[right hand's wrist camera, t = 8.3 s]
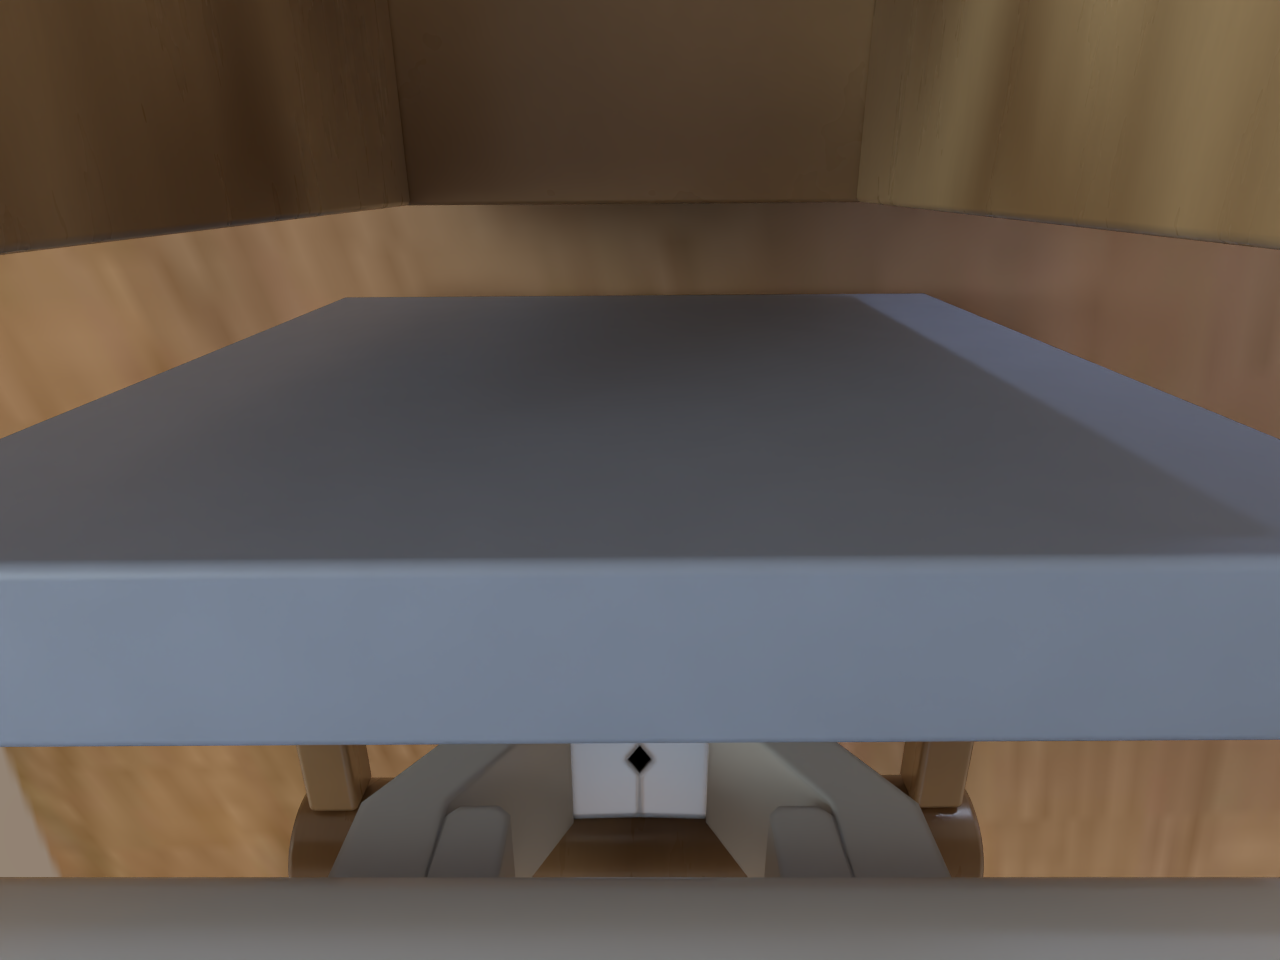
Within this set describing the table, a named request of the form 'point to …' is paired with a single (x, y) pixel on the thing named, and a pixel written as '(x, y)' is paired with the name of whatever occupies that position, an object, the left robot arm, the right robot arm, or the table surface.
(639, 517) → the drawer
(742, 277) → the table surface
